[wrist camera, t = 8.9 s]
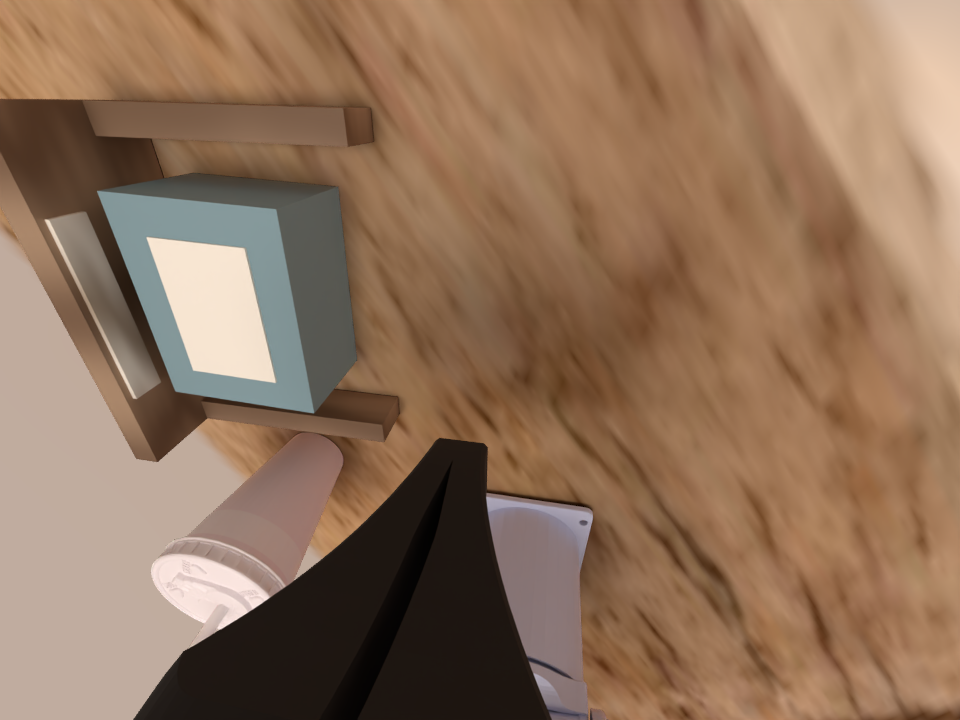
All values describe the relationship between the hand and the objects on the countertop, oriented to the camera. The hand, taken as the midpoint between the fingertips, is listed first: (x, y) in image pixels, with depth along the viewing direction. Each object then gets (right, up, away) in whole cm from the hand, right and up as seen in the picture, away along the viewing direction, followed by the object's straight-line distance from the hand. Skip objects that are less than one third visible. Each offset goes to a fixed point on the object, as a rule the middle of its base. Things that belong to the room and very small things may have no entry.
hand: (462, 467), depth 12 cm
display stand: (-9, +7, +10) cm, 15 cm away
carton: (-9, +7, +10) cm, 16 cm away
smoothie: (-10, -3, +16) cm, 20 cm away
